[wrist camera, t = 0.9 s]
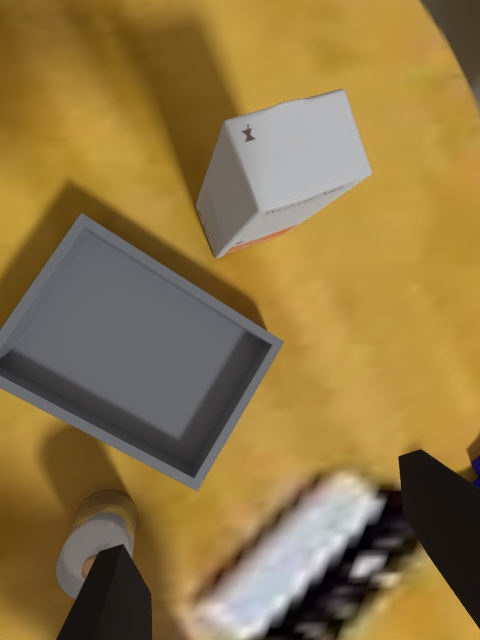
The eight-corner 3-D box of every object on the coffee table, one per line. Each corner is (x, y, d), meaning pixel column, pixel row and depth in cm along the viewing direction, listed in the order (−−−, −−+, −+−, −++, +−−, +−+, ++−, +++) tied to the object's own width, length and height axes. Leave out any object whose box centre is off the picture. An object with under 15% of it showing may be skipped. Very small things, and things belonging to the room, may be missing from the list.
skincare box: (214, 261, 27) (255, 214, 16) (193, 206, 27) (219, 116, 15) (288, 235, 28) (376, 174, 17) (268, 182, 28) (345, 81, 16)
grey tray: (193, 472, 27) (197, 491, 24) (-6, 366, 24) (-30, 372, 21) (271, 340, 28) (284, 342, 25) (90, 225, 25) (81, 212, 23)
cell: (117, 557, 26) (105, 619, 20) (64, 533, 25) (37, 590, 20) (148, 505, 26) (145, 552, 21) (97, 479, 25) (80, 521, 20)
